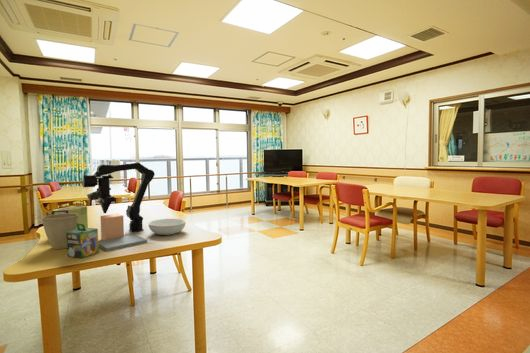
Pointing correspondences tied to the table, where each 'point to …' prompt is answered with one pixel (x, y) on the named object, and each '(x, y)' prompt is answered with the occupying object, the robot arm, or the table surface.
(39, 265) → the table surface
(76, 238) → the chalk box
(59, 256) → the table surface
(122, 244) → the board
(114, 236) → the terracotta carton
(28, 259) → the table surface
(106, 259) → the table surface
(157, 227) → the serving bowl
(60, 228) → the plant pot
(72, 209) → the protein box
